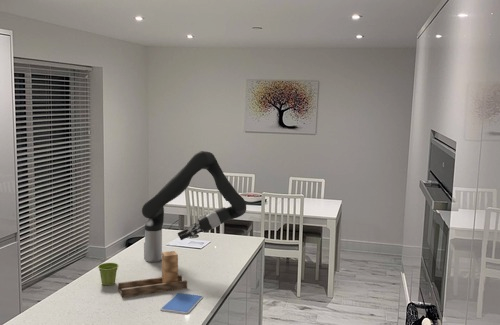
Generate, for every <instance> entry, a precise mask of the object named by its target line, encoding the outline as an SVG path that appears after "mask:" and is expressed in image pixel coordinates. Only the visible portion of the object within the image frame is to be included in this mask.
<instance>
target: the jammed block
mask: <svg viewBox="0 0 500 325" xmlns="http://www.w3.org/2000/svg"><path fill="white" fill-rule="evenodd" d="M178 275H179V255H178V253H177V252H176V251H175V250H174V251H173V250H172V251H162V260H161V277H162V283H169V282H176V281H178Z"/></svg>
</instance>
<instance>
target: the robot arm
mask: <svg viewBox="0 0 500 325" xmlns="http://www.w3.org/2000/svg"><path fill="white" fill-rule="evenodd" d="M215 156H216V155H214V154H213V153H212V152H210V151H206V150H199V151H198V152H197V151H196V153H194V155H193V156H192V157H191V158H190V159H189V160H188V162H187V163H186V164H185V165H184V166H183V167H182V168H181V169H180V170H179V171H178V172H177V173H176V174H175V175H174V176H173V177H172V178H170V179H169V181H168V182H167V183H165V185H164V186H163V187H162V188H161V189H160V190H159V191H158V192H157V193H156V194H155V195H154V196H153V197H151V198H150V199H149V200H148V201H146V202H145V203H144V204H143V206H142V208H141V213H142V216H143V217H144V218H146V219H147V221H146V223H145V225H144V242H143V259H144V260H145V261H146V262H148V263H157V262H160V261H162V252H163V224H164V222H165V221H164V218H165V215H164V214H165V206H166V205H167V204H168V203H170V202H171V201H173V200H175V199H176V198H177V197H179V196H180V195H181V194H182V193H184V191H186V190H187V188H189V185H190V183H191V180H192V178H193V177H194V176H195V175H196V174H197V173H198V172H200V171H202V170H207V171H208V173H209V174H210V175H211V176H212V177H213V180H214V182H215V183H214V184H215V187H216V188H217V191H218V192H219V193H220V195H221V196H222V197H223V198H224V200H225V201H227V202H228V203H229V205H230V206H228V207H220V208H218V209H217V210H215V211H212V212H209V213H207V214H206V215H203V216H201V217H199V218H198V219H197V222H198V223H197V222H195V223H193V224H191V225H189V226H187V227H185V228H184V229H183V230H181V231H179V232H177V237H179V239H180V241H183V240H185V239H187V238H192V237H194V236H196V235H198V234H200V233H201V232H203V233H207V232H209V231H211V230H213V229H215V228H218V227H219V226H220V225H222V224H224V223H226V222H228V221H229V220H230V221H231V220H234V219H238V218H240V217H242V216H244V214H246V212H247V203H246V201H245V199H244V197H243V196H242V195H241V194H239V193H238V191H236V189H235V187H234V186H233V185H232V183H231V182H230V181H229V179H228V178H227V176H226V175H225V174H224V171H223V170H222V168H221V166H220V165H219V162H218V160H217V158H216V157H215Z"/></svg>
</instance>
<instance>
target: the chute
mask: <svg viewBox="0 0 500 325" xmlns="http://www.w3.org/2000/svg"><path fill="white" fill-rule="evenodd" d="M117 285H118V292H119V295H120V296H121V298H122V299H123V298H129V297H136V296H137V297H138V296H144V295H151V294H157V293H166V292H172V291H177V290H178V291H180V290H187V289H188V280H186V279H185V280H183V274H178V281H176V282H169V283H162V276H161V277H159V276H158V277H154V278H152V277H151V278H146V279H137V280H129V281H122V282H118V284H117Z"/></svg>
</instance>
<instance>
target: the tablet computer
mask: <svg viewBox="0 0 500 325" xmlns="http://www.w3.org/2000/svg"><path fill="white" fill-rule="evenodd" d="M203 298H204V296H203V295H198V294H192V293H183V292H177V293H176V294H175V295H173V297H171V299H170V300H169V301H167V302H166V303H165V304H164V305H163V306H162V307H161V308H160V312H167V313H174V314H181V315H188V314H190V312H191V311H192V310H193V309H194V307H196V306H197V304H198V303H200V301H201V300H202V299H203Z"/></svg>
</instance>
